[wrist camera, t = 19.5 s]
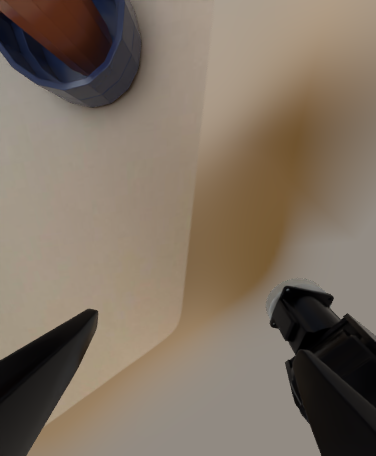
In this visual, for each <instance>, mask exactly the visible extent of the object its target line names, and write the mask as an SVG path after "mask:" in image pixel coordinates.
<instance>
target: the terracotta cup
mask: <svg viewBox="0 0 376 456" xmlns="http://www.w3.org/2000/svg"><path fill="white" fill-rule="evenodd" d="M0 12H1V13H2V14H4V15H5V16H6V17H7V18H8V19H10V20H11V21H12V22H13V23H15V24H16V25H17V26H18V27H20V28H21V29H22V30H23V31H24V32H26V33H27V34H28V35H29V36H31V37H32V38H33V39H34V40H36V41H37V42H38V43H39V44H40V45H42V46H43V47H44V48H45V49H47V50H48V51H49V52H50V53H52V54H53V55H54V56H55V57H56V58H58V59H59V60H60V61H61V62H63V63H64V64H65V65H67V66H68V67H69V68H70V69H72V70H73V71H74V72H76V73H78V74H81V75H88V76H89V75H90V74H91V73H92V72H93V71H94V70H95V69H96V68H97V67H99V66H100V65H101V64H102V63H103V62H104V61H105V59H106V56H107V54H108V52H109V50H110V48H111V45H112V38H111V33H110V30H109V28H108V26H107V24H106V22H105V20H104V19H103V17H102V15H101V13H100V11H99V10H98V8H97V6H96V5H95V3H94V1H93V0H0Z"/></svg>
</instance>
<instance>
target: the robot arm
mask: <svg viewBox="0 0 376 456" xmlns="http://www.w3.org/2000/svg"><path fill="white" fill-rule="evenodd" d="M287 289H289V290H287ZM286 290H287V291H286ZM333 299H334V298H333V296H332V295H331V294H328V293H323V292H318V291H313V290H308V289H303V288H298V287H293V286H285V287H284V288H283V290H282V293H281V295H280V298H279V300H278V301H277V303H276V306H275V308H274V311H273V313H272V318H271V320H270V325H271V327H273V328H278V329H279V330H280V332H281V334H282V336H283V337H284V339H285V341H288V342H289V344H290V346H291V347H292V350H293V351H294V353H295V355H296V356H294V357H293V358H292V359H291V360H288V361H286V362H285V364H286V369H287V373H288V378H289V381H290V386H291V390H292V394H293V397H294V401H295V404H296V406H297V407H298V408H299V410H300V412H301V414H302V416H303V417H304V418H305V419H306V420H307V422H308V423H309V424H310V426H311V429H312V432H313V434H314V437H315V440H316V442H317V445H318V448H319V450H320V453H321V456H376V336H375V335H374V334H373V333H371V332H370V331H369V330H368V329H367V328H365V327H364V326H363V325H361V324H360V323H359V322H358V321H356V320H355V319H354V318H353V317H352V316H350V315H349V314H346V315H345V316H343V317H344V318H343V319H340V318H339V317H338V316H337V315H336V314H335V313H334V312H333V311H332V310H331V309H330V308H329V307H330V305H331V303H332V301H333ZM97 323H98V311H97V310H94V309H87V310H85V311H84V312H82V313H80V314H78V315H77V316H75V317H73V318H72V319H70V320H68V321H66V322H65V323H63V324H61V325H60V326H58V327H56V328H55V329H53V330H51V331H49V332H48V333H46V334H44V335H43V336H41V337H39V338H38V339H36V340H34V341H32V342H31V343H29V344H27V345H26V346H24V347H22V348H20V349H19V350H17V351H15V352H14V353H12V354H10V355H9V356H7V357H5V358H3V359H2V360H0V456H26V455H27V454H28V452H29V450H30V448H31V447H32V445H33V443H34V442H35V440H36V438H37V437H38V435H39V433H40V432H41V430H42V428H43V427H44V425H45V423H46V422H47V420H48V418H49V416H50V415H51V413H52V411H53V410H54V408H55V406H56V405H57V403H58V401H59V400H60V398H61V396H62V395H63V393H64V391H65V390H66V388H67V386H68V385H69V383H70V381H71V379H72V378H73V376H74V374H75V373H76V371H77V369H78V367H79V365H80V363H81V361H82V359H83V357H84V355H85V352H86V350H87V348H88V346H89V344H90V342H91V340H92V338H93V336H94V333H95V331H96V329H97ZM274 323H275V324H274Z"/></svg>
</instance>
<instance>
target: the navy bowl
mask: <svg viewBox="0 0 376 456" xmlns="http://www.w3.org/2000/svg"><path fill="white" fill-rule="evenodd" d="M93 1H94V3H95V5H96V6H97V8H98V10H99V11H100V13H101V15H102V17H103V19H104V20H105V22H106V24H107V26H108V28H109V30H110V33H111V38H112V45H111V48H110V50H109V52H108V54H107V56H106V59H105V61H104V62H103V63H102V64H101V65H100V66H99V67H97V68H96V69H95V70H94V71H93V72H92V73H91V74H90V75H89V76H88V75H81V74H78V73H76V72H74V71H73V70H72V69H70V68H69V67H68V66H67V65H65V64H64V63H63V62H61V61H60V60H59V59H58V58H56V57H55V56H54V55H53V54H52V53H50V52H49V51H48V50H47V49H45V48H44V47H43V46H42V45H40V44H39V43H38V42H37V41H36V40H34V39H33V38H32V37H31V36H29V35H28V34H27V33H26V32H24V31H23V30H22V29H21V28H20V27H18V26H17V25H16V24H15V23H13V22H12V21H11V20H10V19H8V18H7V17H6V16H5V15H4V14H2V13H1V12H0V52H1V53H2V54H3V56H4V57H5V58H6V60H7V61H8V62H9V64H10V65H11V66H12V67H13V68H14V69H15V70H17V71H18V72H20V73H21V74H22V75H24V76H25V77H27V78H28V79H30V80H31V81H33V82H34V83H36V84H37V85H39V86H41V87H43V88H44V89H46V90H48V91H50V92H52V93H54V94H55V95H57V96H59V97H61V98H63V99H65V100H67V101H69V102H70V103H73V104H77V105H82V106H87V107H92V108H94V107H98V106H102V105H106V104H110V103H112V102H114V101H115V100H116V99H117V98H118V97H119V96H121V95H122V94H123V93H124V92H125V91H127V90H128V89H129V87H130V85H131V83H132V81H133V79H134V77H135V75H136V73H137V71H138V68H139V61H140V52H141V37H140V32H139V27H138V22H137V18H136V14H135V11H134V8H133V6H132V3H131V0H93Z"/></svg>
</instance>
